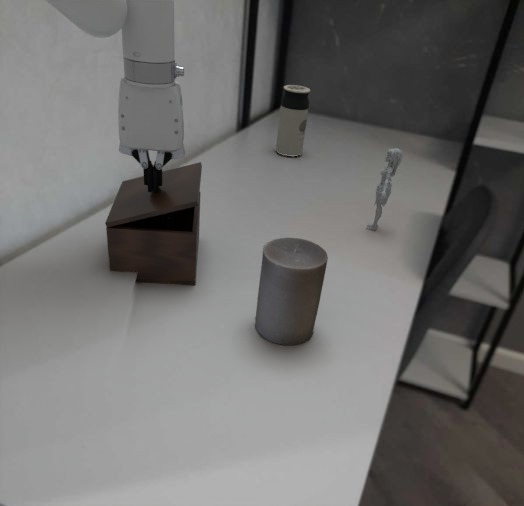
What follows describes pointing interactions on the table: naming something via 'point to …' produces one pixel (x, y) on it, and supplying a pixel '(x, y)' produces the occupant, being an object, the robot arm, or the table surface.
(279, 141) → the travel mug
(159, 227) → the tape measure
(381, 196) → the human figurine
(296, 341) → the pillar candle
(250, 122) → the table surface
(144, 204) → the lid
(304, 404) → the table surface
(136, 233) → the desk box
